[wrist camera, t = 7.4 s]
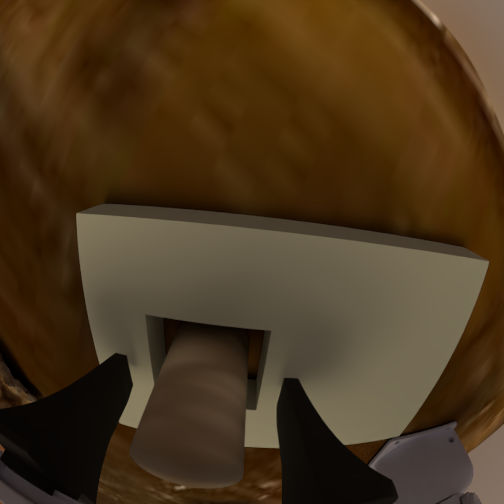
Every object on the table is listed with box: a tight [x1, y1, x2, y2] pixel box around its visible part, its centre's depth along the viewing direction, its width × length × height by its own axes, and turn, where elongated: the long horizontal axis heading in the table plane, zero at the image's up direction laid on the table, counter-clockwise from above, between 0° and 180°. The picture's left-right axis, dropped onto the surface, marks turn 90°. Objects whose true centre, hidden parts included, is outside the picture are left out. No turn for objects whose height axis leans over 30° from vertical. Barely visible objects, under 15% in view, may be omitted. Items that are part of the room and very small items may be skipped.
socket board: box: [76, 204, 489, 448], centre depth 13 cm, size 20×14×2 cm
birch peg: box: [129, 321, 249, 488], centre depth 11 cm, size 4×4×8 cm
